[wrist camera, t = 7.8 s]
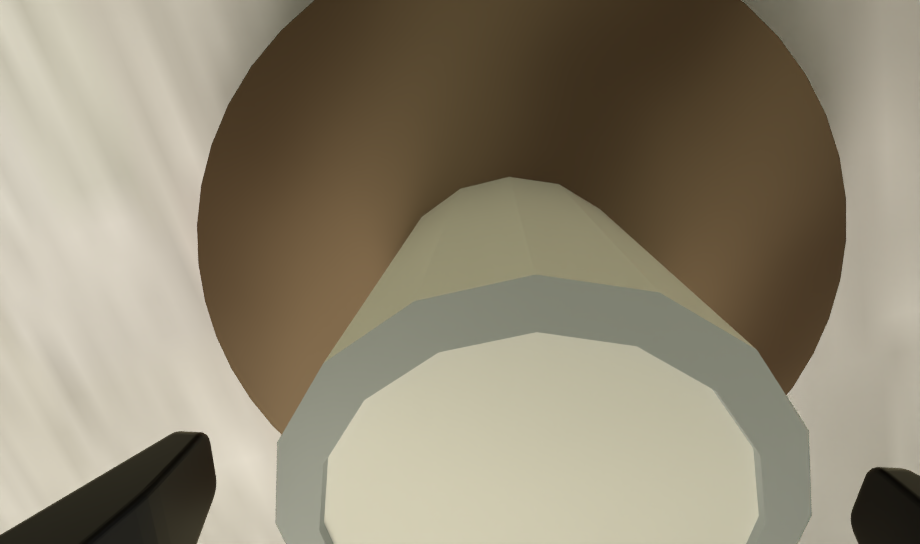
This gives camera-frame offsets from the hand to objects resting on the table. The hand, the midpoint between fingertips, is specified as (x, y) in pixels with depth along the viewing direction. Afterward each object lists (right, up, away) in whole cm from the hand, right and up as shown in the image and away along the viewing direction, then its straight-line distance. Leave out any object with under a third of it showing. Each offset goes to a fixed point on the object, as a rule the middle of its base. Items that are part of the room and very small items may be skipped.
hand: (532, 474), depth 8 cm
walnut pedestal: (0, +4, +9) cm, 9 cm away
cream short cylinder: (0, +2, +6) cm, 7 cm away
